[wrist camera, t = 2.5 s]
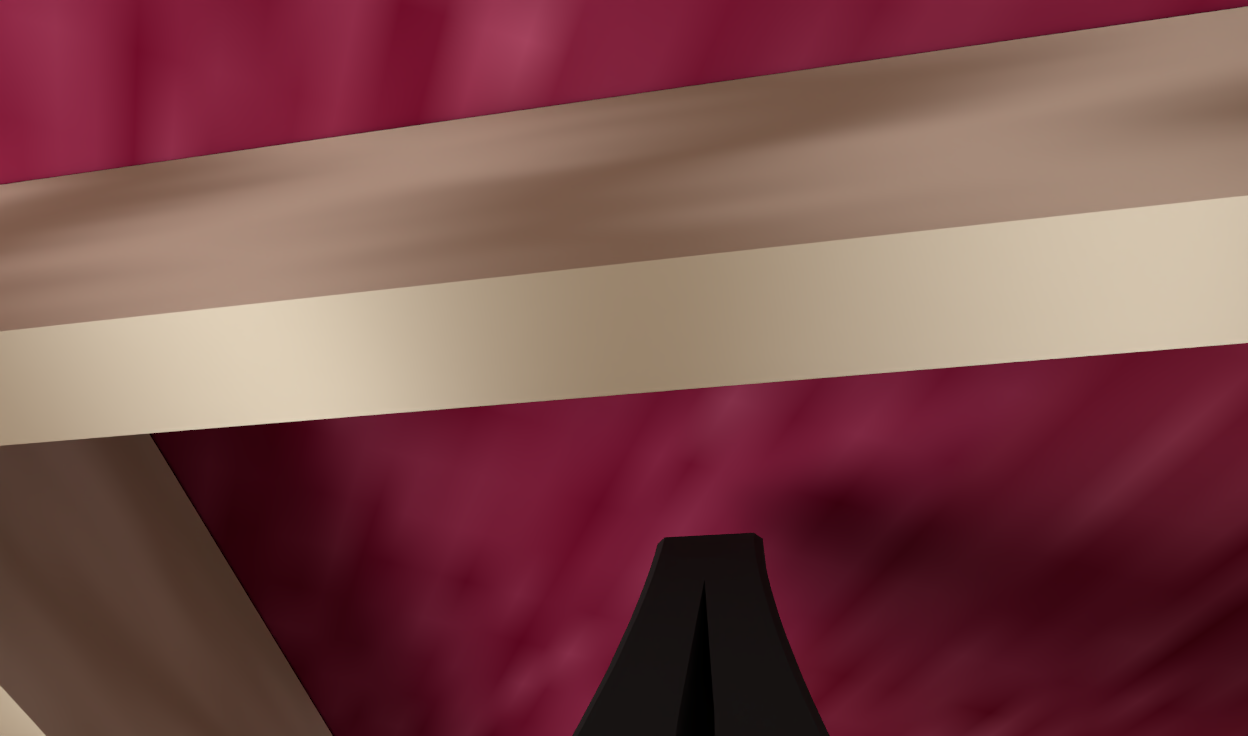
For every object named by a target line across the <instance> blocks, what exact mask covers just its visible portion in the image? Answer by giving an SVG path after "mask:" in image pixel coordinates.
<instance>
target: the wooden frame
mask: <svg viewBox="0 0 1248 736" xmlns="http://www.w3.org/2000/svg"><path fill="white" fill-rule="evenodd" d="M1239 343H1248V7H1241V8H1234V9H1227V10H1220V11H1213V12H1206V13H1199V14H1192V15H1185V16H1178V17H1171V18H1164V19H1157V20H1150V21H1143V22H1136V23H1129V24H1122V25H1115V26H1108V27H1101V28H1094V29H1087V30H1080V31H1073V32H1066V33H1059V34H1052V35H1045V36H1038V37H1031V38H1024V39H1017V40H1010V41H1003V42H996V43H989V44H982V45H975V46H968V47H961V48H954V49H947V50H940V51H933V52H926V53H919V54H912V55H905V56H898V57H891V58H884V59H877V60H870V61H863V62H856V63H849V64H842V65H835V66H828V67H821V68H814V69H807V70H800V71H793V72H786V73H779V74H772V75H765V76H758V77H751V78H744V79H737V80H730V81H723V82H716V83H709V84H702V85H695V86H688V87H681V88H674V89H667V90H660V91H653V92H646V93H640V94H633V95H626V96H619V97H612V98H605V99H598V100H591V101H584V102H577V103H570V104H563V105H556V106H549V107H542V108H535V109H528V110H521V111H514V112H507V113H500V114H493V115H486V116H479V117H472V118H465V119H458V120H451V121H444V122H437V123H430V124H423V125H416V126H409V127H402V128H395V129H388V130H381V131H374V132H367V133H360V134H353V135H346V136H339V137H332V138H325V139H318V140H311V141H304V142H297V143H290V144H283V145H276V146H269V147H262V148H255V149H248V150H241V151H234V152H227V153H220V154H213V155H206V156H199V157H192V158H185V159H178V160H171V161H164V162H157V163H150V164H143V165H136V166H129V167H122V168H115V169H108V170H101V171H94V172H87V173H80V174H73V175H66V176H59V177H52V178H45V179H38V180H31V181H24V182H17V183H10V184H3V185H0V736H332V734H331V732H330V731H329V729H328V727H327V726H326V724H325V722H324V721H323V719H322V717H321V716H320V714H319V713H318V711H317V709H316V708H315V706H314V704H313V703H312V701H311V699H310V698H309V696H308V694H307V693H306V691H305V690H304V688H303V686H302V685H301V683H300V681H299V680H298V678H297V676H296V675H295V673H294V671H293V670H292V668H291V666H290V665H289V663H288V662H287V660H286V658H285V657H284V655H283V653H282V652H281V650H280V648H279V647H278V645H277V643H276V642H275V640H274V638H273V637H272V635H271V634H270V632H269V630H268V629H267V627H266V625H265V624H264V622H263V620H262V619H261V617H260V615H259V614H258V612H257V611H256V609H255V607H254V606H253V604H252V602H251V601H250V599H249V597H248V596H247V594H246V592H245V591H244V589H243V587H242V586H241V584H240V583H239V581H238V579H237V578H236V576H235V574H234V573H233V571H232V569H231V568H230V566H229V564H228V563H227V561H226V560H225V558H224V556H223V555H222V553H221V551H220V550H219V548H218V546H217V545H216V543H215V541H214V540H213V538H212V536H211V535H210V533H209V532H208V530H207V528H206V527H205V525H204V523H203V522H202V520H201V518H200V517H199V515H198V513H197V512H196V510H195V508H194V507H193V505H192V504H191V502H190V500H189V499H188V497H187V495H186V494H185V492H184V490H183V489H182V487H181V485H180V484H179V482H178V481H177V479H176V477H175V476H174V474H173V472H172V471H171V469H170V467H169V466H168V464H167V462H166V461H165V459H164V457H163V456H162V454H161V453H160V451H159V449H158V448H157V446H156V444H155V443H154V441H153V439H152V438H151V436H150V434H149V433H160V432H172V431H184V430H196V429H209V428H221V427H233V426H245V425H257V424H269V423H281V422H293V421H306V420H318V419H330V418H342V417H354V416H366V415H378V414H390V413H402V412H415V411H427V410H439V409H451V408H463V407H475V406H487V405H499V404H512V403H524V402H536V401H548V400H560V399H572V398H584V397H596V396H609V395H621V394H633V393H645V392H657V391H669V390H681V389H693V388H705V387H718V386H730V385H742V384H754V383H766V382H778V381H790V380H802V379H815V378H827V377H839V376H851V375H863V374H875V373H887V372H899V371H912V370H924V369H936V368H948V367H960V366H972V365H984V364H996V363H1008V362H1021V361H1033V360H1045V359H1057V358H1069V357H1081V356H1093V355H1105V354H1118V353H1130V352H1142V351H1154V350H1166V349H1178V348H1190V347H1202V346H1215V345H1227V344H1239Z"/></svg>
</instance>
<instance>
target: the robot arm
mask: <svg viewBox="0 0 1248 736" xmlns="http://www.w3.org/2000/svg"><path fill="white" fill-rule="evenodd" d="M572 736H829V734H828V732H827V730H826V728H825V725H824V723H823V721H822V719H821V717H820V715H819V713H818V710H817V708H816V706H815V704H814V702H813V700H812V698H811V695H810V693H809V691H808V688H807V686H806V684H805V682H804V679H803V677H802V675H801V672H800V670H799V667H798V664H797V662H796V659H795V657H794V654H793V652H792V649H791V647H790V644H789V642H788V639H787V637H786V634H785V631H784V628H783V625H782V623H781V620H780V617H779V614H778V610H777V607H776V604H775V601H774V597H773V594H772V591H771V587H770V583H769V579H768V575H767V570H766V563H765V555H764V546H763V539H762V538H761V537H759V536H758V535H756V534H755V533H741V534H722V535H703V536H685V537H666V538H664V539H663V540H662V541H660V542H659V543H658V545H657V549H656V552H655V556H654V559H653V562H652V565H651V568H650V571H649V574H648V577H647V579H646V582H645V585H644V588H643V590H642V593H641V595H640V598H639V600H638V603H637V605H636V608H635V610H634V612H633V615H632V617H631V620H630V622H629V624H628V627H627V629H626V631H625V633H624V635H623V637H622V640H621V642H620V644H619V646H618V648H617V650H616V653H615V655H614V657H613V659H612V661H611V663H610V666H609V668H608V670H607V672H606V674H605V676H604V678H603V680H602V682H601V684H600V685H599V687H598V689H597V691H596V693H595V695H594V697H593V699H592V700H591V702H590V704H589V706H588V708H587V710H586V712H585V714H584V715H583V717H582V719H581V721H580V723H579V725H578V727H577V728H576V730H575V732H574V734H573V735H572Z"/></svg>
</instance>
